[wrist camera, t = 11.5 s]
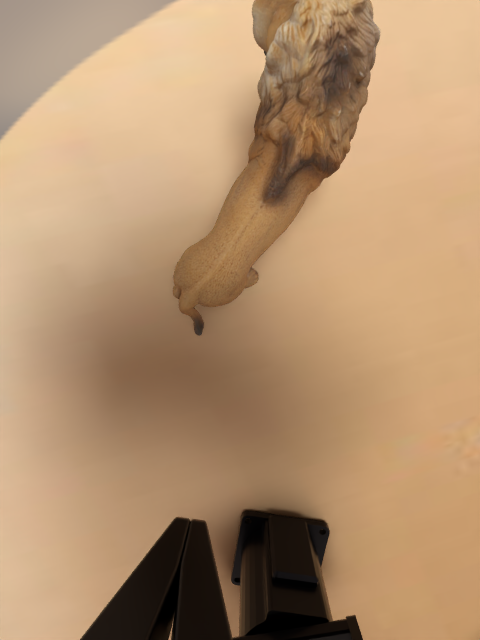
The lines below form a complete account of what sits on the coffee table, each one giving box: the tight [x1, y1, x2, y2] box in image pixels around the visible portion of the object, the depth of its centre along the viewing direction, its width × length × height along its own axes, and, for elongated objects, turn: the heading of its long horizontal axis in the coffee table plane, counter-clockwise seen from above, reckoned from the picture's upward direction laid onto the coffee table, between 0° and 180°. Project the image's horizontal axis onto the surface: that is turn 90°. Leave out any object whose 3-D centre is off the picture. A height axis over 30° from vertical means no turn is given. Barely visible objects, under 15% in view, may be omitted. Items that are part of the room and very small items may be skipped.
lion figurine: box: [173, 0, 380, 336], centre depth 13 cm, size 15×5×9 cm, turn 156°
